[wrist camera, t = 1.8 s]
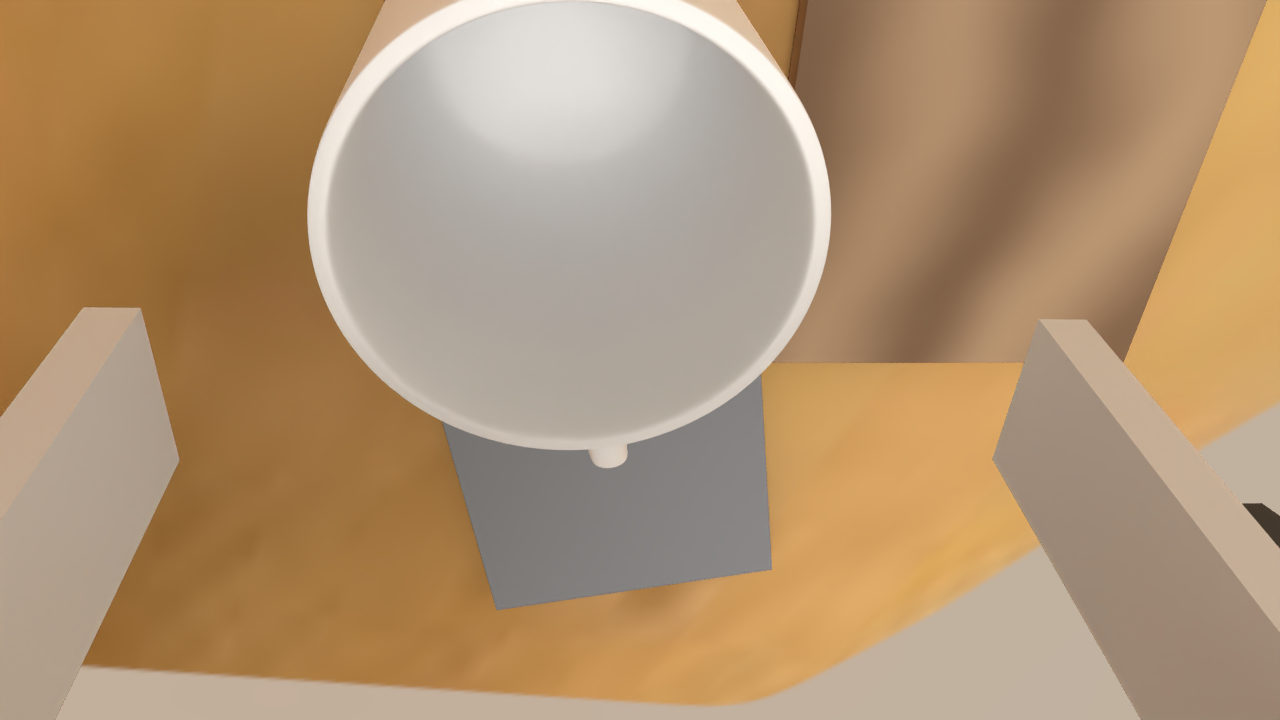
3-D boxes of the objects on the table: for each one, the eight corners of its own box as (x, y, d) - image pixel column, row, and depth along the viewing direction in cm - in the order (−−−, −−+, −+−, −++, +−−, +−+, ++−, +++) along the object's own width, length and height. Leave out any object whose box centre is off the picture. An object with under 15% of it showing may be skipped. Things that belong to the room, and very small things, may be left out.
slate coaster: (497, 595, 36) (496, 610, 36) (433, 373, 31) (431, 386, 30) (768, 555, 36) (771, 569, 36) (754, 326, 31) (759, 339, 30)
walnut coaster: (749, 348, 31) (754, 362, 31) (808, -59, 25) (815, -52, 24) (1111, 348, 32) (1123, 362, 32) (1260, -39, 26) (1279, -32, 25)
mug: (712, 282, 30) (801, 578, 20) (423, 293, 29) (366, 605, 19) (735, -160, 23) (886, -46, 13) (362, -158, 23) (228, -37, 13)
